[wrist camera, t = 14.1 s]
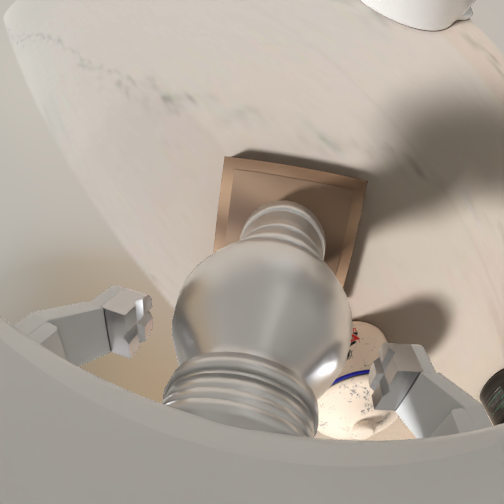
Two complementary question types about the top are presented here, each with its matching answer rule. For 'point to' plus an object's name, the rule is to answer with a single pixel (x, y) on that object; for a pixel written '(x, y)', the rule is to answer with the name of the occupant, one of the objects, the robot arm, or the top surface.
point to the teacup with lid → (355, 391)
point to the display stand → (296, 190)
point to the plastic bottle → (261, 327)
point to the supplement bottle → (494, 398)
